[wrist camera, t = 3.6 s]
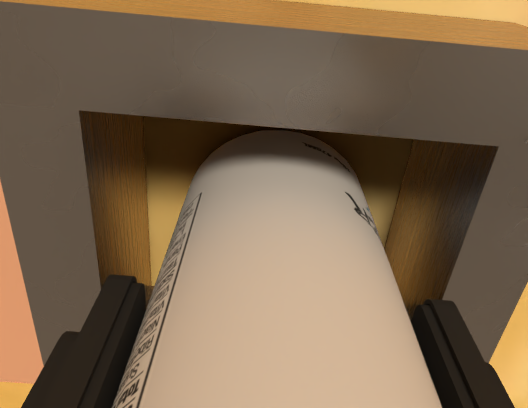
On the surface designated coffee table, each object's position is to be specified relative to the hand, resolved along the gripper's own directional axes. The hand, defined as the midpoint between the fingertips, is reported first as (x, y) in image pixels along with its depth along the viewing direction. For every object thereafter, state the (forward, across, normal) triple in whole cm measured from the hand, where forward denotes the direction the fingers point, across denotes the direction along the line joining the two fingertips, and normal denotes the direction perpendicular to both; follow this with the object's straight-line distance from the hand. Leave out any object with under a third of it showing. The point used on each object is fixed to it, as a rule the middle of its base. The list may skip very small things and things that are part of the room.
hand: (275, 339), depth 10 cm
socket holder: (+7, 0, 0) cm, 7 cm away
